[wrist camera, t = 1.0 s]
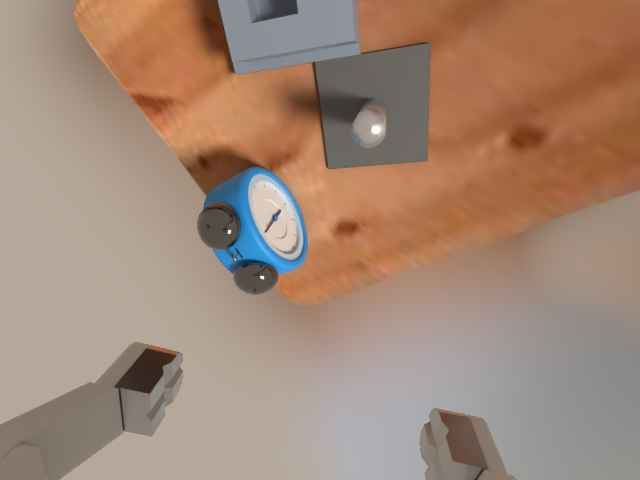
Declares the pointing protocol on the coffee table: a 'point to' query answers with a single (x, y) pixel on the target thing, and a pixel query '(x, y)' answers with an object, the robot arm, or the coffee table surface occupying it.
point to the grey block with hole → (289, 32)
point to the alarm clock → (254, 229)
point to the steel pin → (370, 124)
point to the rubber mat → (382, 84)
